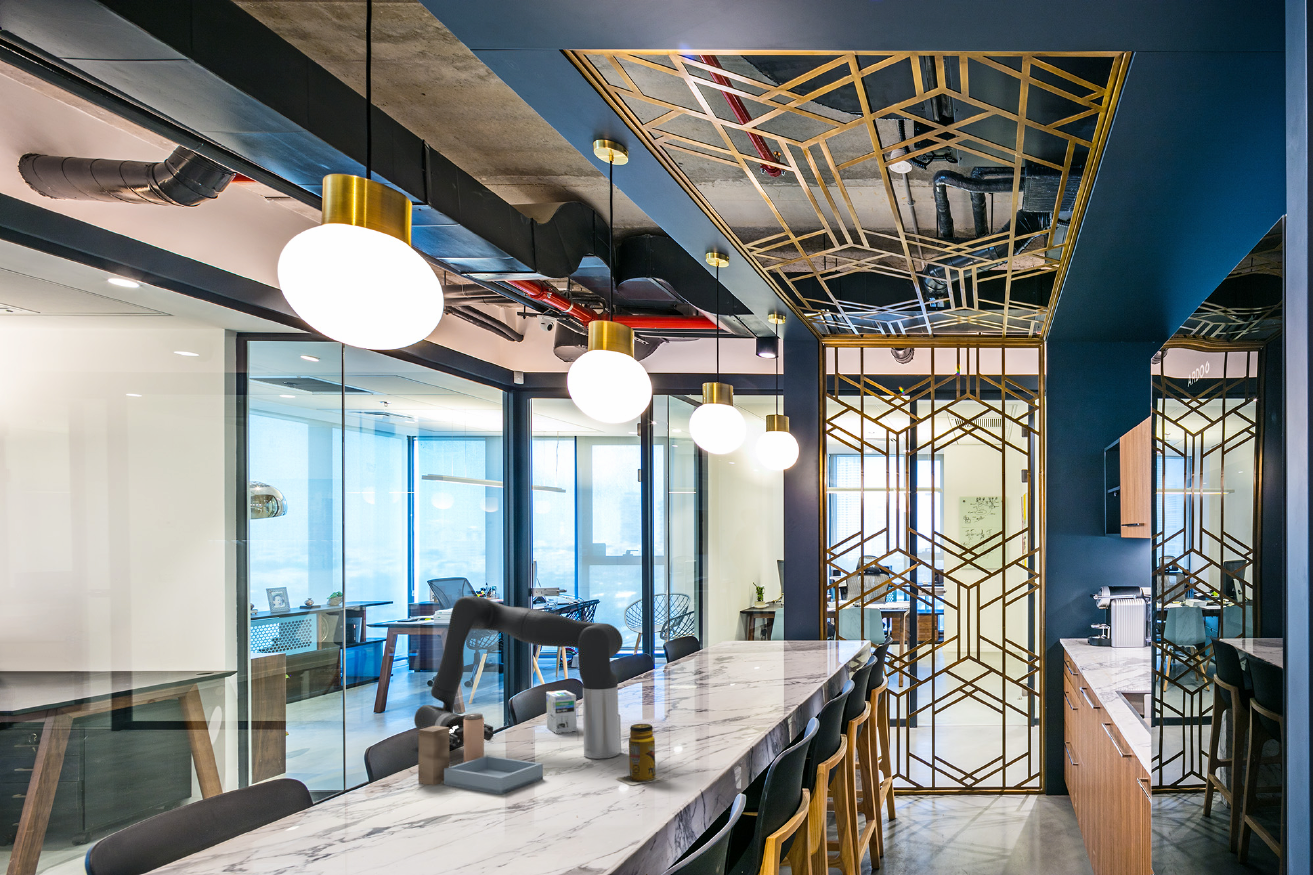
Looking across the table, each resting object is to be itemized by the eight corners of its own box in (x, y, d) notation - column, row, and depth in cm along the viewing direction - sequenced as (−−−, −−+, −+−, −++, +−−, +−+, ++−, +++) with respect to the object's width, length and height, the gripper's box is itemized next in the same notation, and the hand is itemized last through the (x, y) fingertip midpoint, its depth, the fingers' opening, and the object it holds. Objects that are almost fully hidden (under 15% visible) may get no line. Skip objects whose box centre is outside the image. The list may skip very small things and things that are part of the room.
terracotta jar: (473, 764, 212) (473, 712, 214) (488, 767, 209) (488, 714, 211) (459, 769, 208) (459, 716, 209) (473, 771, 205) (473, 717, 207)
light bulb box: (577, 731, 247) (576, 694, 249) (555, 734, 245) (554, 696, 246) (567, 725, 257) (566, 689, 258) (545, 727, 254) (545, 691, 256)
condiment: (663, 779, 193) (661, 725, 195) (631, 786, 188) (630, 730, 190) (645, 773, 199) (644, 720, 201) (615, 779, 194) (614, 725, 196)
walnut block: (434, 777, 201) (434, 725, 203) (449, 779, 198) (449, 727, 200) (418, 782, 197) (418, 729, 198) (433, 785, 194) (433, 731, 196)
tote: (487, 770, 206) (486, 755, 206) (542, 779, 196) (542, 763, 197) (444, 784, 194) (444, 768, 195) (501, 794, 185) (501, 778, 185)
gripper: (426, 717, 220) (445, 727, 207) (478, 710, 228) (500, 719, 214) (426, 747, 219) (445, 758, 206) (478, 739, 227) (500, 749, 213)
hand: (473, 738), depth 210 cm, fingers open, 8 cm apart
